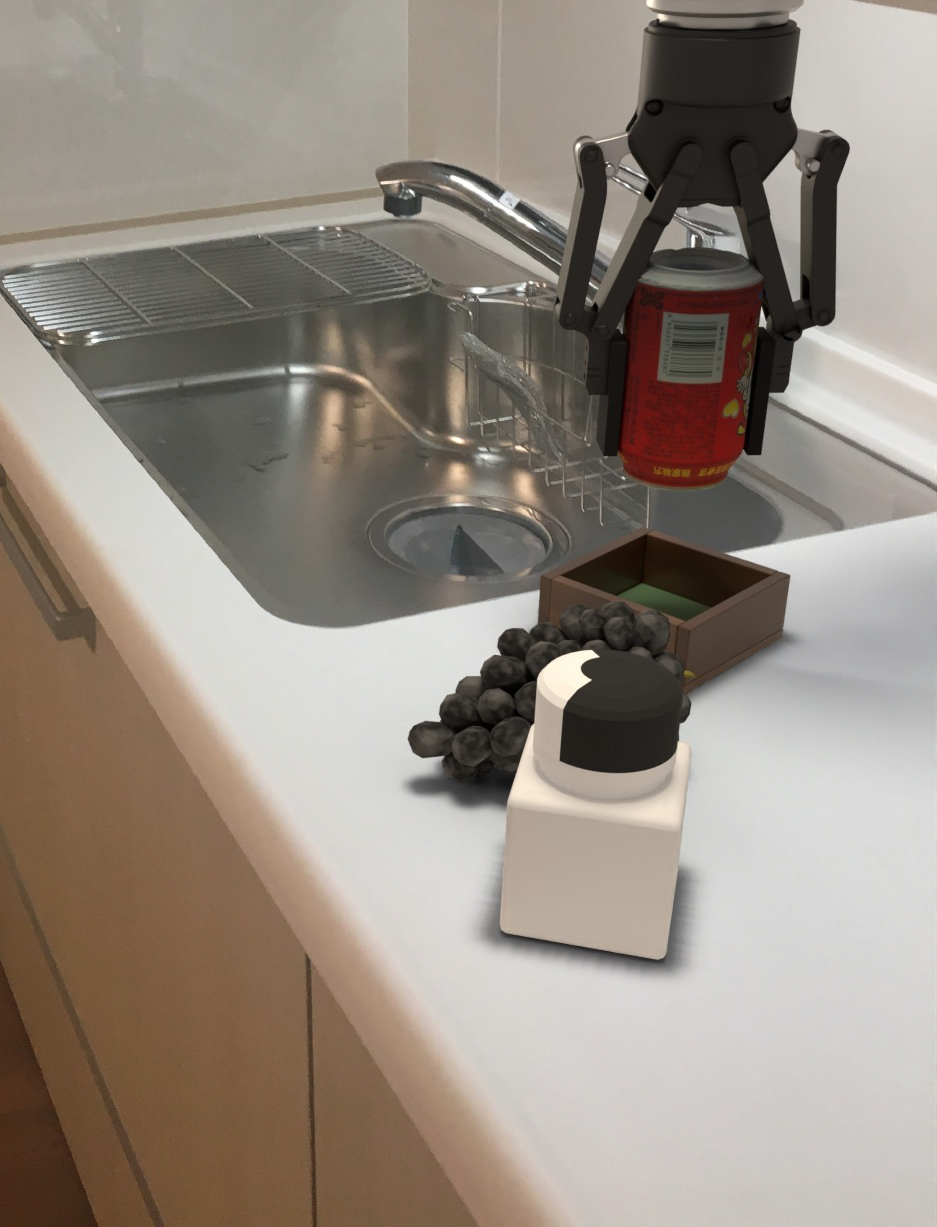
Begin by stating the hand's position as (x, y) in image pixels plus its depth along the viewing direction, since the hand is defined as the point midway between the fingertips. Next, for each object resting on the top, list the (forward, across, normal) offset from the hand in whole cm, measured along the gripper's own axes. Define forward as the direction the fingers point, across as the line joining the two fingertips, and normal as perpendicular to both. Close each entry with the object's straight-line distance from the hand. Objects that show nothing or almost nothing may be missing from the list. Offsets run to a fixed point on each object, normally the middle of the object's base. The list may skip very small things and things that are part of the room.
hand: (677, 446), depth 94 cm
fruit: (+12, -9, -14) cm, 21 cm away
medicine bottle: (+12, -8, -27) cm, 30 cm away
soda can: (+2, 0, 0) cm, 2 cm away
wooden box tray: (+12, 0, 0) cm, 12 cm away
